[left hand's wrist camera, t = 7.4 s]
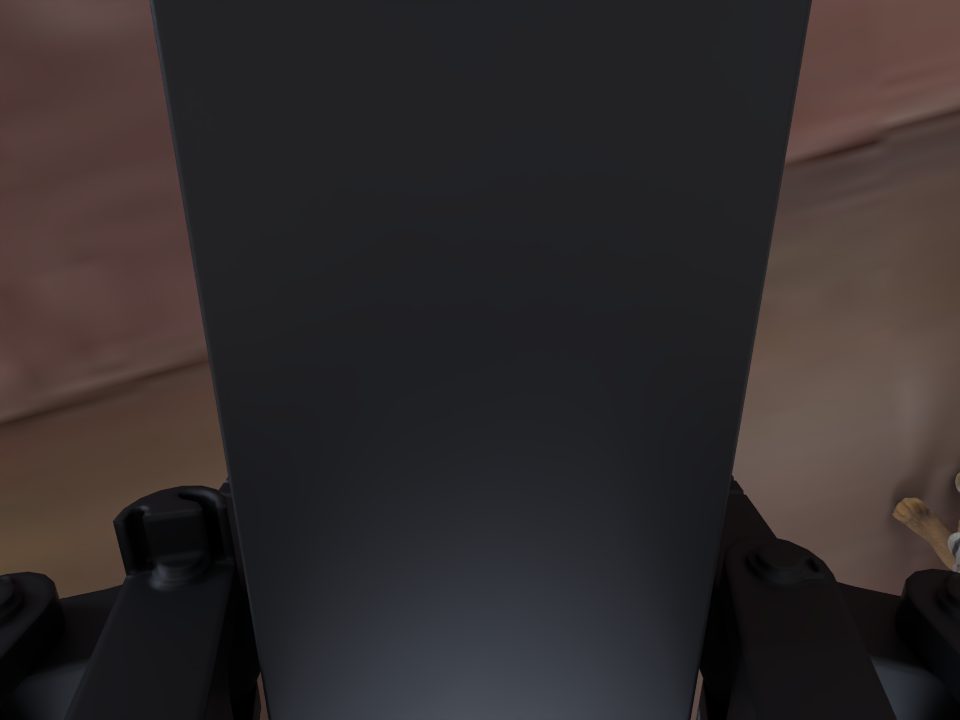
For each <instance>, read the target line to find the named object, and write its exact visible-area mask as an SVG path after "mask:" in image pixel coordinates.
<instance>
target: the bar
mask: <svg viewBox="0 0 960 720" xmlns="http://www.w3.org/2000/svg"><path fill="white" fill-rule="evenodd" d="M811 3H812V0H150V6H151V12H152V18H153V24H154V30H155V36H156V42H157V48H158V54H159V60H160V66H161V72H162V78H163V84H164V90H165V96H166V102H167V108H168V114H169V121H170V127H171V133H172V139H173V145H174V151H175V157H176V163H177V169H178V175H179V181H180V187H181V193H182V199H183V205H184V211H185V217H186V223H187V229H188V235H189V241H190V247H191V253H192V259H193V265H194V271H195V277H196V284H197V290H198V296H199V302H200V308H201V314H202V320H203V326H204V332H205V338H206V344H207V350H208V356H209V362H210V368H211V374H212V380H213V386H214V392H215V398H216V404H217V410H218V416H219V422H220V428H221V434H222V440H223V446H224V453H225V459H226V465H227V471H228V477H229V483H230V489H231V495H232V501H233V507H234V513H235V519H236V525H237V531H238V537H239V543H240V549H241V555H242V561H243V567H244V573H245V579H246V585H247V591H248V597H249V603H250V609H251V615H252V622H253V628H254V634H255V640H256V646H257V652H258V658H259V664H260V670H261V676H262V682H263V688H264V694H265V700H266V706H267V712H268V718H269V720H690V719H691V713H692V707H693V701H694V695H695V690H696V684H697V678H698V672H699V666H700V660H701V654H702V648H703V642H704V636H705V630H706V624H707V618H708V613H709V607H710V601H711V595H712V589H713V583H714V577H715V571H716V565H717V559H718V553H719V547H720V541H721V536H722V530H723V524H724V518H725V512H726V506H727V500H728V494H729V488H730V482H731V476H732V470H733V464H734V459H735V453H736V447H737V441H738V435H739V429H740V423H741V417H742V411H743V405H744V399H745V393H746V387H747V382H748V376H749V370H750V364H751V358H752V352H753V346H754V340H755V334H756V328H757V322H758V316H759V310H760V305H761V299H762V293H763V287H764V281H765V275H766V269H767V263H768V257H769V251H770V245H771V239H772V233H773V228H774V222H775V216H776V210H777V204H778V198H779V192H780V186H781V180H782V174H783V168H784V162H785V156H786V151H787V145H788V139H789V133H790V127H791V121H792V115H793V109H794V103H795V97H796V91H797V85H798V80H799V74H800V68H801V62H802V56H803V50H804V44H805V38H806V32H807V26H808V20H809V14H810V8H811Z"/></svg>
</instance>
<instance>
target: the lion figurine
mask: <svg viewBox="0 0 960 720" xmlns="http://www.w3.org/2000/svg"><path fill="white" fill-rule="evenodd" d="M955 484H956V488H957V490H958V491H959V493H960V473H958V474H957V476H956V480H955ZM892 515H893V516H894V517H895V518H896V519H898V520H899V521H901V522H902V523H904V524H905V525H907V526H908V527H909V528H910V529H911V530H913V531H914V532H915V533H917V534H919V535H920V536H921V537H923V538H924V539H925V540H926V541H927V542H928V543H929V544H930V545H931V546H932V547H933V549H934V550H935V552H936V553H937V555H938V556H939V557H940V559H941V560H942V561H943V562H944V564H945V565H946V566H947V567H949V568H950V569H951V570H952V571H955V572H958V573H960V520H959V527H958V532H957V533H952V532H951V531H950V530H949V529H948V528H947V527H946V526H945V525H944V523H943V522H942V521H941V519H940V518H939V517H938V515H937V514H935V513H934V512H933V511H931V510H929V509H927V508H926V506H925V504H924V503H923V502H922V501H921V500H919V499H917V498H915V497H914V498H904V499H903V500H902V501H901V502H899V503H898V504H897V506H896V508H895V509H894V510H893V512H892Z"/></svg>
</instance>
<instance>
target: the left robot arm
mask: <svg viewBox="0 0 960 720" xmlns="http://www.w3.org/2000/svg"><path fill="white" fill-rule="evenodd" d="M113 523H114V527H115V531H116V535H117V539H118V543H119V547H120V551H121V555H122V559H123V563H124V567H125V571H126V575H127V576H126V578H125V580H124V583H123V585H119V586H116V587H112V588H109V589H105V590H100V591H95V592H91V593H86V594H81V595H76V596H72V597H67V598H62V599H59V596H58V593H57V590H56V587H55V583H54V582H53V581H52V580H51V579H50V578H48V577H47V576H46V575H44V574H38V573H33V572H22V573H13V574H5V575H2V576H0V720H260V712H261V703H260V695H259V689H258V683H257V679H258V676H259V674H260V671H261V670H260V664H259V658H258V652H257V646H256V640H255V634H254V628H253V622H252V615H251V609H250V603H249V597H248V591H247V585H246V579H245V573H244V567H243V561H242V555H241V549H240V543H239V537H238V531H237V525H236V519H235V513H234V507H233V501H232V495H231V489H230V483H229V477H228V478H227V479H226V483H223V485H222V486H221V488H220V489H219V490H217V489H213V488H209V487H205V486H179V487H175V488H170V489H165V490H160V491H158V492H155V493H153V494H150V495H148V496H145V497H142V498H140V499H139V500H137V501H135V502H134V503H132V504H131V505H129V506H128V507H126V508H124V509H123V510H122V511H121V513H120V514H119V515H118V516H117V517H116V518H115V519H114V521H113ZM699 669H700V671H701V674H702V676H703V683H702V689H701V695H700V701H699V707H698V712H697V718H696V720H960V573H958V572H955V571H946V570H937V569H929V570H923V571H917V572H914V573H913V574H912V575H911V576H910V577H909V578H907V579H906V581H905V585H904V588H903V591H902V595H901V596H896V595H892V594H887V593H882V592H877V591H873V590H868V589H863V588H859V587H854V586H850V585H847V584H843V583H839V582H836V579H835V577H834V575H833V573H832V572H831V571H830V569H829V568H828V567H827V565H826V564H825V563H824V561H822V560H821V559H820V558H818V557H817V556H816V555H814V554H813V553H812V552H810V551H809V550H807V549H805V548H803V547H801V546H798V545H796V544H794V543H792V542H790V541H786V540H782V539H778V538H776V536H775V535H774V533H773V532H772V531H771V529H770V528H769V526H768V525H767V524H766V522H765V521H764V519H763V518H762V516H761V515H760V514H759V512H758V511H757V509H756V508H755V507H754V505H753V504H752V502H751V501H750V500H749V498H748V497H747V495H744V493H743V490H742V488H741V487H740V486H739V484H738V483H737V481H734V477H733V476H731V482H730V488H729V494H728V500H727V506H726V512H725V518H724V524H723V530H722V536H721V541H720V547H719V553H718V559H717V565H716V571H715V577H714V583H713V589H712V595H711V601H710V607H709V613H708V618H707V624H706V630H705V636H704V642H703V648H702V654H701V660H700V666H699Z"/></svg>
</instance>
